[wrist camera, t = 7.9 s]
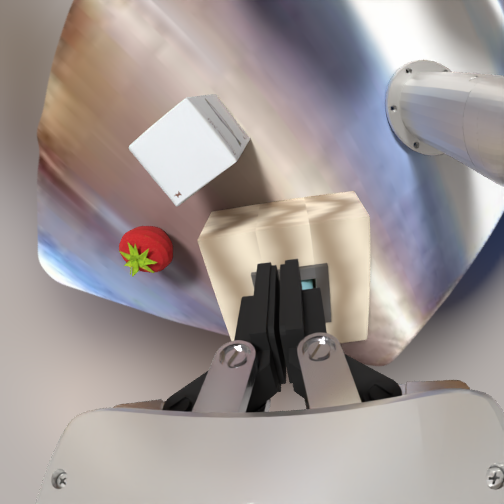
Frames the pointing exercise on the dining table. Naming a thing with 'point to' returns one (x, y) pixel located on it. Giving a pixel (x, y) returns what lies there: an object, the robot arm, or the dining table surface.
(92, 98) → the dining table surface
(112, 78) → the dining table surface
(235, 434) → the robot arm
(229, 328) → the collar block
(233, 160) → the supplement box
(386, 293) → the dining table surface
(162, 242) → the strawberry
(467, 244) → the dining table surface
